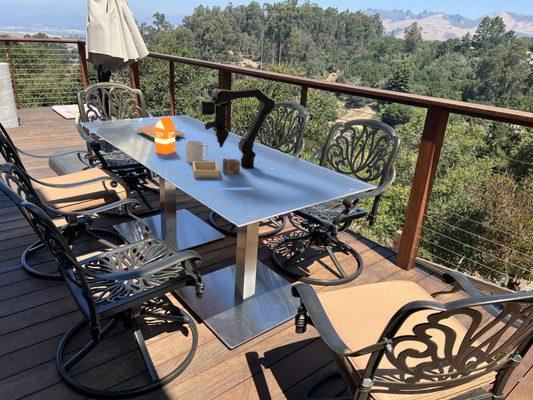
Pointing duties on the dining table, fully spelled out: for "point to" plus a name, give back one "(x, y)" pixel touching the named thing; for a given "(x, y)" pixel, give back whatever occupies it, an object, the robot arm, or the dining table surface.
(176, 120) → the dining table surface
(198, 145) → the mug
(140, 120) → the dining table surface
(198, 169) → the carton
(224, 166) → the walnut box
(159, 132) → the orange juice
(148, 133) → the brown green flat box
